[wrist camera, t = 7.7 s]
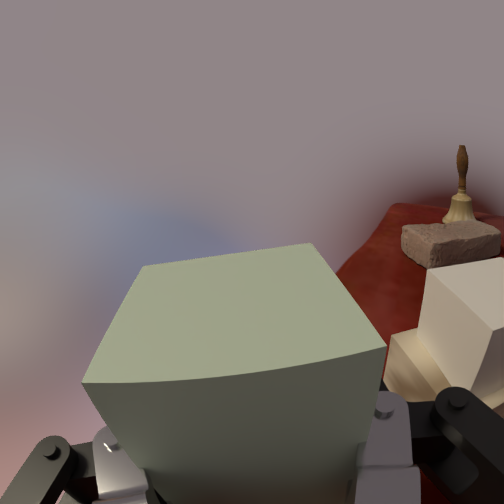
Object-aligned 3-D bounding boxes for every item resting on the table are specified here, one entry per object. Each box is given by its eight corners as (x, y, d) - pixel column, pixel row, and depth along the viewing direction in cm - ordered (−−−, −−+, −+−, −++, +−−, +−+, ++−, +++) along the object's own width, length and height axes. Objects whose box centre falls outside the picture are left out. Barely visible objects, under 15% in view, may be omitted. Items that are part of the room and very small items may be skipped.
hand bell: (435, 218, 58) (436, 143, 52) (465, 217, 57) (466, 145, 51) (454, 230, 50) (457, 145, 44) (485, 228, 49) (489, 148, 44)
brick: (469, 240, 45) (472, 214, 44) (501, 256, 38) (505, 228, 36) (397, 254, 44) (399, 224, 43) (428, 276, 36) (432, 242, 35)
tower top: (416, 335, 19) (427, 269, 17) (487, 316, 19) (501, 257, 17) (463, 404, 12) (492, 330, 11) (538, 369, 12) (565, 302, 10)
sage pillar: (209, 455, 13) (143, 266, 9) (313, 441, 13) (310, 242, 9) (209, 545, 8) (80, 382, 4) (337, 529, 8) (386, 345, 4)
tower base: (382, 385, 21) (391, 335, 20) (466, 355, 22) (480, 307, 20) (432, 472, 13) (459, 426, 11) (522, 418, 13) (550, 368, 12)
